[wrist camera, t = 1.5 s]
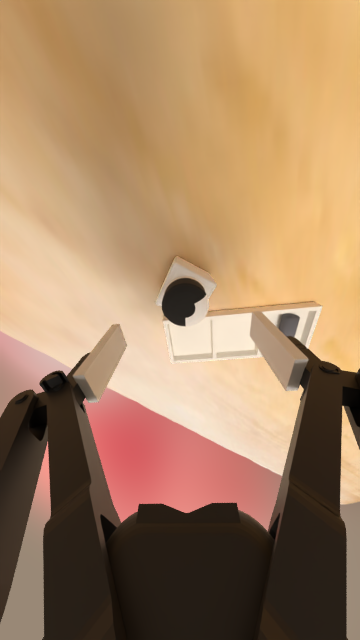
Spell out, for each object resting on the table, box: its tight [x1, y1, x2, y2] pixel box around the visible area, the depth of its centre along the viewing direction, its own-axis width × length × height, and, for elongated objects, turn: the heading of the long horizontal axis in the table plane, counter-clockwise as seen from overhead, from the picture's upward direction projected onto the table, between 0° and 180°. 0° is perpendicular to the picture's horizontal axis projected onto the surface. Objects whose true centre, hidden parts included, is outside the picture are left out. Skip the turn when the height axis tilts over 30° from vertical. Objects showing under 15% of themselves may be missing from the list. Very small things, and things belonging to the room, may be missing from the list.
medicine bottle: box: [155, 256, 217, 327], centre depth 25 cm, size 7×7×12 cm
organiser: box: [163, 302, 323, 364], centre depth 34 cm, size 12×30×2 cm, turn 97°
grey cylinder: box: [279, 313, 300, 337], centre depth 33 cm, size 8×3×3 cm, turn 7°
